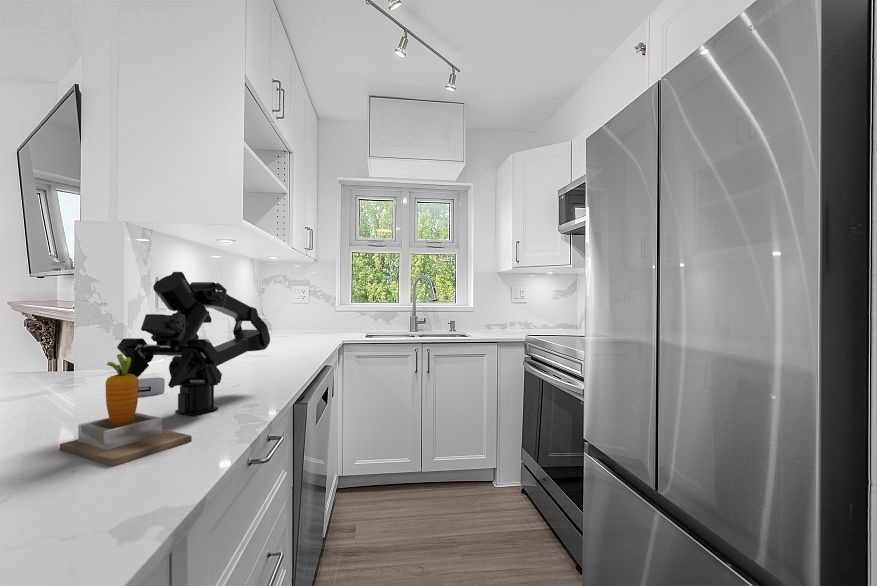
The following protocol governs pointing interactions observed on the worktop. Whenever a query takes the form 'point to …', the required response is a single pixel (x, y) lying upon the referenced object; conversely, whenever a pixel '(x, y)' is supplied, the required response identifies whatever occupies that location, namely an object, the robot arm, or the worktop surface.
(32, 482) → the worktop surface
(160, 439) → the holder
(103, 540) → the worktop surface
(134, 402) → the carrot
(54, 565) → the worktop surface
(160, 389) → the charger
